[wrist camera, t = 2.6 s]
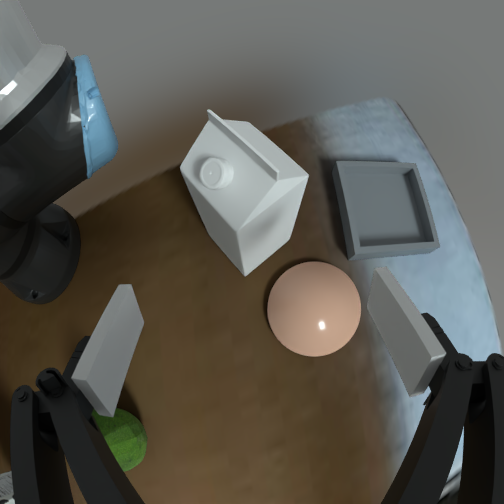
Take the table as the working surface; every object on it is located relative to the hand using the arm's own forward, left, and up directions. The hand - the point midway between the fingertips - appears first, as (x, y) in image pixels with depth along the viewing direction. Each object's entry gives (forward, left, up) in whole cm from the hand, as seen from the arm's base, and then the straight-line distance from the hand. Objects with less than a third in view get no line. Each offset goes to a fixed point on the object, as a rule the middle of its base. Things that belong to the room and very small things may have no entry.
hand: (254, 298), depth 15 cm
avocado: (-7, -21, -19) cm, 29 cm away
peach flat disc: (+5, +4, -18) cm, 20 cm away
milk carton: (-6, +8, -19) cm, 21 cm away
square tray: (+8, +20, -18) cm, 29 cm away
